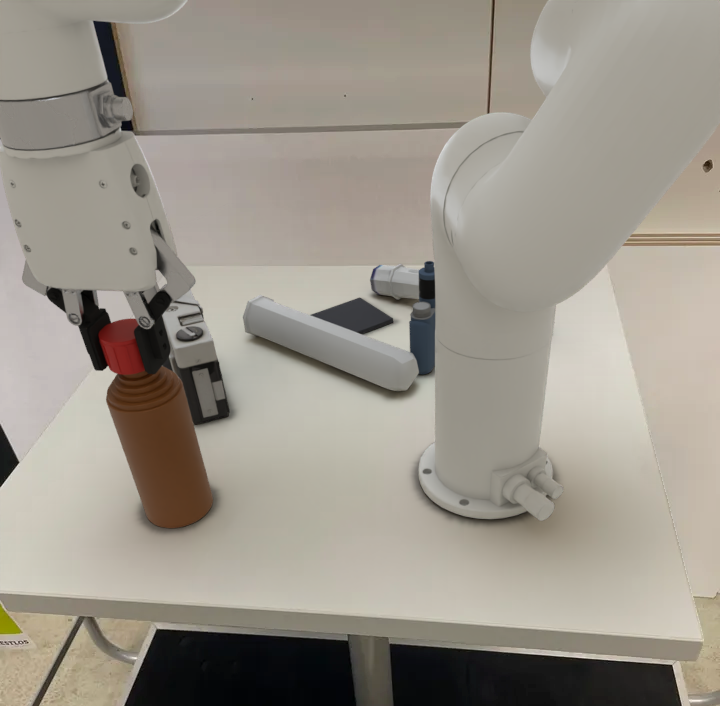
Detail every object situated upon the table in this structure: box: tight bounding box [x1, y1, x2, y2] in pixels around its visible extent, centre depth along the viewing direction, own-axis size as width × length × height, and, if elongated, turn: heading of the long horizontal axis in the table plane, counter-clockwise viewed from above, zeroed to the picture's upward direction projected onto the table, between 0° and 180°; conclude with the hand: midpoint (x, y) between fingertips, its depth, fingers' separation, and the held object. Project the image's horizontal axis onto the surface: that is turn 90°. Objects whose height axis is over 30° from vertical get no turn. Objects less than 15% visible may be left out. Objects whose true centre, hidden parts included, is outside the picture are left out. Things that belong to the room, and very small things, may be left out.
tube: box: [242, 294, 419, 392], centre depth 86 cm, size 5×5×25 cm
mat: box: [310, 297, 394, 335], centre depth 95 cm, size 8×8×1 cm
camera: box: [162, 289, 230, 425], centre depth 81 cm, size 14×8×10 cm, turn 20°
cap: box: [99, 318, 145, 375], centre depth 58 cm, size 4×4×3 cm
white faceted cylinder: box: [369, 263, 420, 301], centre depth 93 cm, size 5×7×25 cm
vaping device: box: [408, 260, 435, 375], centre depth 82 cm, size 3×5×12 cm, turn 156°
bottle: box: [105, 366, 214, 529], centre depth 63 cm, size 6×6×18 cm
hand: (132, 361), depth 58 cm, fingers closed on cap, 3 cm apart
